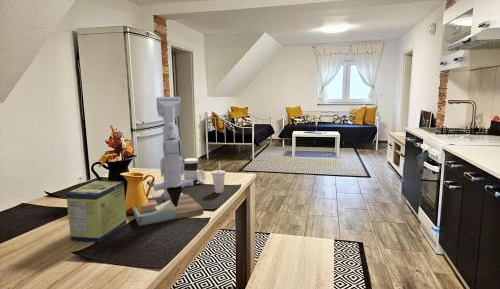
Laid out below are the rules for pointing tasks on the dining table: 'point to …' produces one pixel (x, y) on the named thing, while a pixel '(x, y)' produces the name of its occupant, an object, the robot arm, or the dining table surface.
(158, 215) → the box
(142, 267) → the dining table surface
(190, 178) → the spread jar
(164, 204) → the cream tile
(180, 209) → the walnut board
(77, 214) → the protein box
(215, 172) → the smoothie
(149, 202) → the terracotta tile
